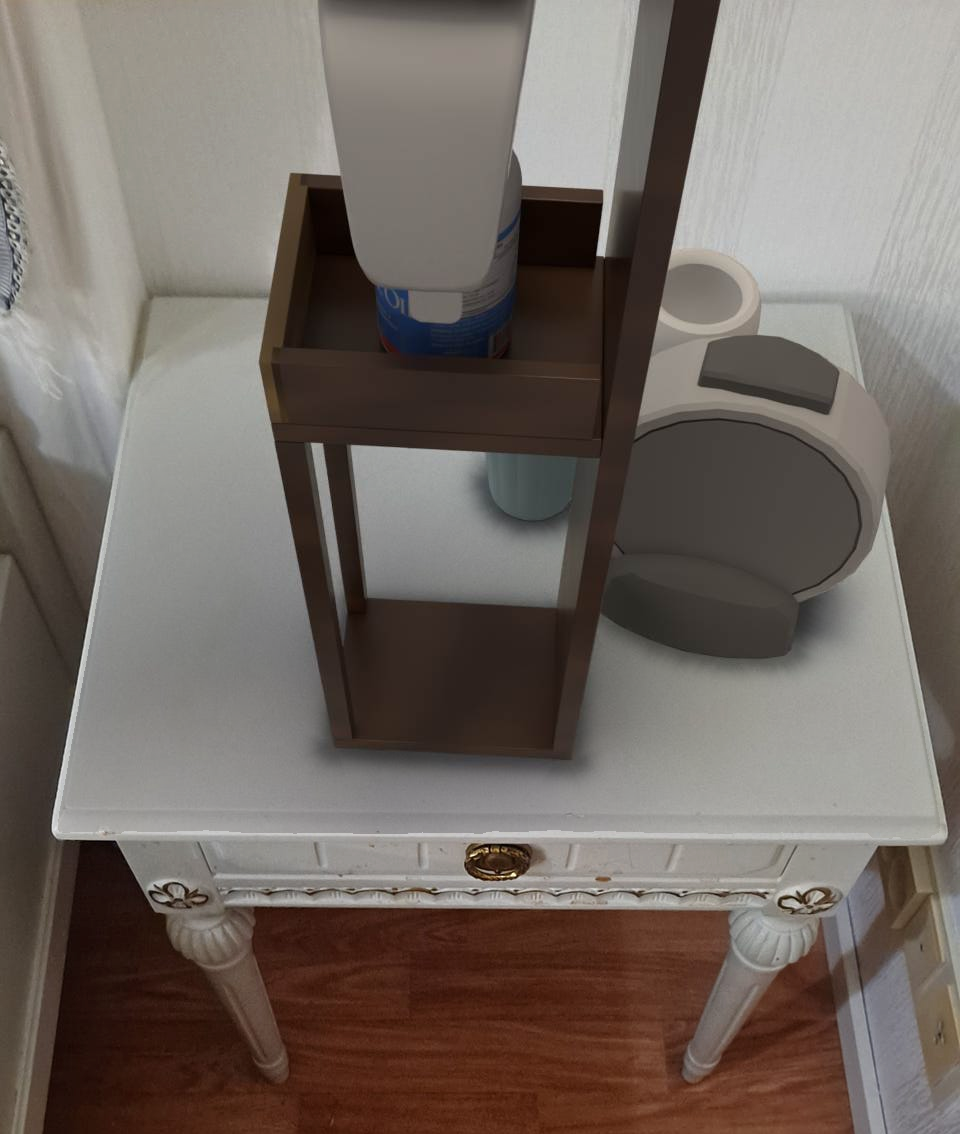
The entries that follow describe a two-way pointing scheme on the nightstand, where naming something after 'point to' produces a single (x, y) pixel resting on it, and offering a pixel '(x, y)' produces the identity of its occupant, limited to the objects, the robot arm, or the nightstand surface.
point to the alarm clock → (743, 494)
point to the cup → (530, 483)
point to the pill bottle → (464, 300)
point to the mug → (706, 299)
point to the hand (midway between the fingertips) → (445, 211)
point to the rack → (483, 424)
